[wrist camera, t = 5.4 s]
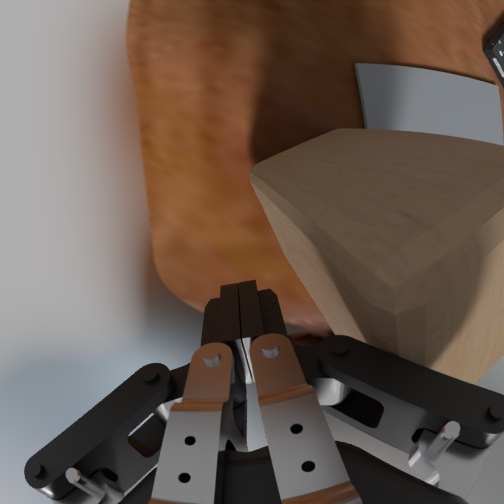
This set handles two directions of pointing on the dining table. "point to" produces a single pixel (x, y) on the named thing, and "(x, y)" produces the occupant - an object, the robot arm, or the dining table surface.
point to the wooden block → (397, 240)
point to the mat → (429, 102)
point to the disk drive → (496, 53)
